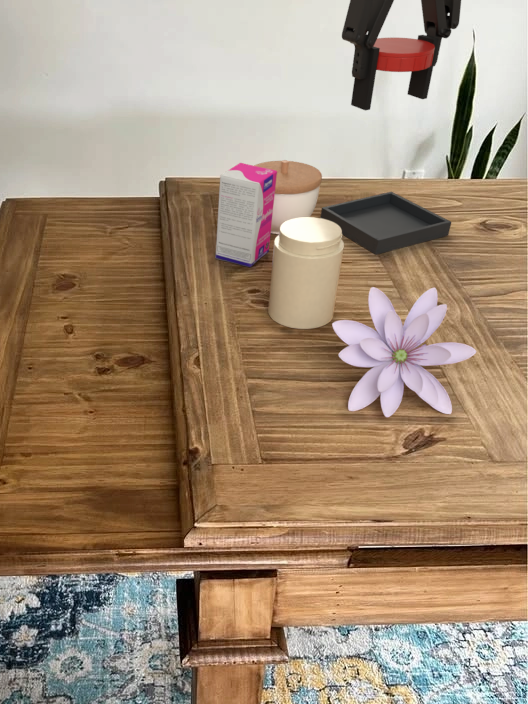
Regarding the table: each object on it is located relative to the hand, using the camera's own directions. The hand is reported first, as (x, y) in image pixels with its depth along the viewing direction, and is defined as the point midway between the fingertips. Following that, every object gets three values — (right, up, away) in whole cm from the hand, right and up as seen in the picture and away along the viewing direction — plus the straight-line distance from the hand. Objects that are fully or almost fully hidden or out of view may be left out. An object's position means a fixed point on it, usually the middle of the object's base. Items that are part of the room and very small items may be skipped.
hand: (389, 101), depth 90 cm
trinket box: (-11, -9, +19) cm, 24 cm away
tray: (+5, -10, +18) cm, 21 cm away
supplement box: (-17, -16, +12) cm, 26 cm away
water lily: (-4, -38, -13) cm, 41 cm away
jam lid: (0, +4, -4) cm, 6 cm away
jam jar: (-11, -26, 0) cm, 28 cm away
